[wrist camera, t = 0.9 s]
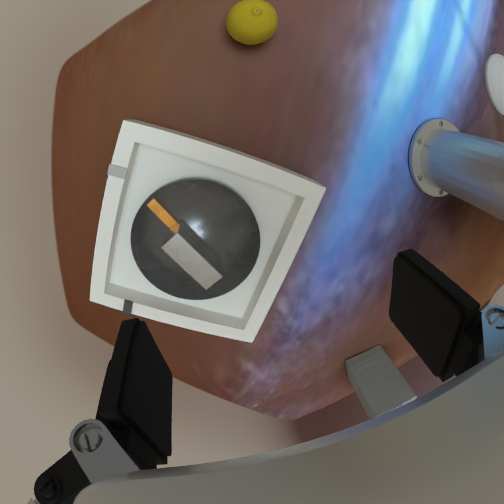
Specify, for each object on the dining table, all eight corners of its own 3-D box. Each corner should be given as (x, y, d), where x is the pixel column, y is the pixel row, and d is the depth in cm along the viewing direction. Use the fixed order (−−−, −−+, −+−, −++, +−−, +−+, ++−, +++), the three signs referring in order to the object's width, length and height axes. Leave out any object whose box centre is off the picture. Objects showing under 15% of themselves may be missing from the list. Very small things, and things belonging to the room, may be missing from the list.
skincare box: (346, 376, 57) (373, 435, 42) (343, 356, 53) (374, 419, 39) (382, 361, 56) (413, 416, 42) (382, 340, 53) (418, 398, 39)
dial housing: (313, 179, 37) (327, 188, 33) (248, 322, 46) (252, 344, 42) (133, 119, 31) (121, 119, 27) (99, 282, 40) (88, 302, 35)
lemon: (244, 59, 30) (252, 43, 23) (215, 28, 27) (216, 6, 20) (279, 36, 29) (296, 17, 22) (251, 6, 26) (261, -20, 19)
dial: (283, 244, 38) (294, 266, 33) (194, 312, 41) (192, 341, 36) (199, 149, 32) (196, 155, 27) (109, 236, 35) (94, 257, 30)
